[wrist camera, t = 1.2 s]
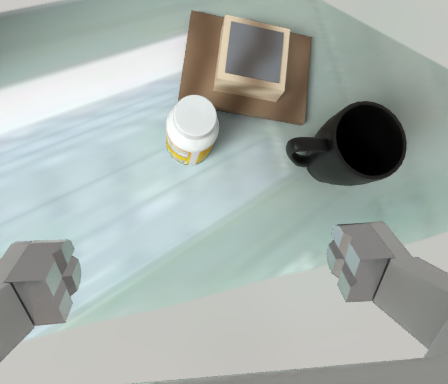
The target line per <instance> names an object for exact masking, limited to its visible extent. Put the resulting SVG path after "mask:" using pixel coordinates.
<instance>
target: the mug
mask: <svg viewBox="0 0 448 384" xmlns="http://www.w3.org/2000/svg"><path fill="white" fill-rule="evenodd" d="M300 151H307V153H306V156H305V155H299V154H297V153H296V152H300ZM286 152H287V155H288V157H289V158H290V160H291V161H292V162H293V163H294V164H295V165H297V166H300V167H307V170H308V171H309V173H310V174H311V176H312V177H314V178H315V179H316V180H318V181H320V182H325V183H329V184H335V185H344V186H352V185H361V184H366V183H370V182H374V181H378V180H381V179H384V178H386V177H389V176H390V175H392V174H393V173H394V172H396V171H397V169H398V168H399V167H400V166H401V164H402V162H403V160H404V158H405V154H406V137H405V132H404V130H403V127H402V125H401V123H400V122H399V120H398V119H397V117H396V116H395V115H394V114H393V113H392V112H391V111H390V110H388V109H387V108H385V107H384V106H382V105H380V104H377V103H374V102H368V101H364V102H356V103H353V104H350V105H348V106H347V107H345V108H344V109H342V110H341V111H340V112H338V113H337V114H336V115H334V116H333V117H332V118H330V119H329V120H328V121H327V122H326V123H325V124H324V125H323V127H322V128H321V129H320V130H319V131H318V133H317V134H316V135H315V137H298V138H293V139H291V140H289V141H288V143H287V145H286Z"/></svg>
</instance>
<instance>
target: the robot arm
mask: <svg viewBox="0 0 448 384" xmlns="http://www.w3.org/2000/svg"><path fill="white" fill-rule="evenodd" d="M331 235H332V237H333V239H334V240H333V241H332V242H331V243H330V244H329V245H328V249H327V262H328V265H329V268H330V270H331V272H332V274H333V275H335V276H336V277H338V278H339V281H338V284H337V285H338V287H339V289H340V291H341V293H342V295H343V297H344V299H345V301H346V302H361V301H373V303H374V304H375V305H377V306H378V307H379V308H380V309H381V310H382V311H384V312H385V313H386V314H387V315H388V316H390V317H391V318H392V319H393V320H394V321H395V322H397V323H398V324H399V325H400V326H401V327H403V328H404V329H405V330H406V331H407V332H408V333H410V334H411V335H412V336H413V337H414V338H416V339H417V340H418V341H419V342H420V343H422V344H423V345H424V346H425V347H426V348H427V349H428V350H427V352H426V353H425V355H424V357H423V358H416V359H404V360H394V361H382V362H370V363H360V364H349V365H336V366H325V367H314V368H303V369H291V370H281V371H269V372H258V373H246V374H235V375H224V376H213V377H201V378H190V379H178V380H167V381H156V382H146V383H133V384H448V273H447V272H445V271H443V270H441V269H439V268H437V267H436V266H434V265H432V264H430V263H428V262H426V261H424V260H422V259H421V258H419V257H412V256H411V254H410V253H409V252H408V251H407V249H406V248H405V247H404V246H403V244H402V243H401V242H400V241H399V240H398V238H397V237H396V236H395V235H394V233H393V232H392V231H391V230H390V228H389V227H388V226H387V225H386V224H385V223H384V222H382V221H380V222H366V223H355V224H339V225H335V226H334V227H333V229H332V233H331ZM73 251H74V247H73V244H72V242H71V241H70V240H68V239H66V240H36V241H16V242H14V243H13V244H11V245H10V247H9V248H8V250H7V251H6V252H5V254H4V255H3V257H2V258H1V260H0V362H1V361H2V360H3V359H4V358H5V357H6V356H7V355H8V354H9V353H10V352H11V351H12V350H13V349H14V348H15V347H16V346H17V345H18V344H19V343H20V342H21V341H22V340H23V339H24V338H25V337H26V336H27V335H28V334H29V333H30V332H31V331H32V330H33V329H34V326H38V325H48V324H58V323H65V322H66V320H67V317H68V314H69V312H70V309H71V306H72V304H73V302H72V300H71V297H70V296H71V295H73V294H74V293H75V292H76V291H77V290H78V287H79V284H80V279H81V267H80V263H79V260H78V259H77V258H75V257H74V256H72V254H73Z"/></svg>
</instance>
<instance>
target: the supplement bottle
mask: <svg viewBox="0 0 448 384" xmlns="http://www.w3.org/2000/svg"><path fill="white" fill-rule="evenodd" d="M218 133H219V121H218V118H217V113H216V110H215V107H214V106H213V104H212V103H211V102H210V101H209V100H208V99H207V98H205V97H203V96H200V95H189V96H186V97H184V98H182V99H181V100H180V101H179V102H178V103H177V104H176V106H175V107H174V108H173V109H172V110H171V111H170V113H169V115H168V117H167V121H166V146H167V150H168V153H169V155H170V156H171V157H172V158H173V159H174V160H175V161H176V162H177V163H179V164H182V165H186V166H193V165H197V164H199V163H201V162H202V161H203V160H205V159H206V157H207V156H208V154H209V152H210V151H211V148H212V146H213V145H214V143H215V141H216V139H217V136H218Z"/></svg>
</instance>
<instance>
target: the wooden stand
mask: <svg viewBox="0 0 448 384" xmlns="http://www.w3.org/2000/svg"><path fill="white" fill-rule="evenodd" d="M310 48H311V37H309V36H304V35H300V34H295V33H291V32H290V29H287V28H283V27H278V26H274V25H269V24H265V23H260V22H256V21H251V20H247V19H243V18H238V17H234V16H229V15H225V17H219V16H215V15H210V14H206V13H201V12H197V11H192V10H191V17H190V24H189V31H188V38H187V44H186V51H185V58H184V65H183V72H182V78H181V85H180V92H179V99H178V102H179V101H180V100H181V99H182V98H184V97H186V96H189V95H200V96H203V97H205V98H207V99H208V100H209V101H210V102H211V103H212V104H213V106H214V107H215V110H219V111H224V112H230V113H236V114H241V115H247V116H252V117H258V118H264V119H269V120H275V121H280V122H286V123H292V124H297V125H302V124H304V123H305V112H306V99H307V86H308V73H309V61H310Z"/></svg>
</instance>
